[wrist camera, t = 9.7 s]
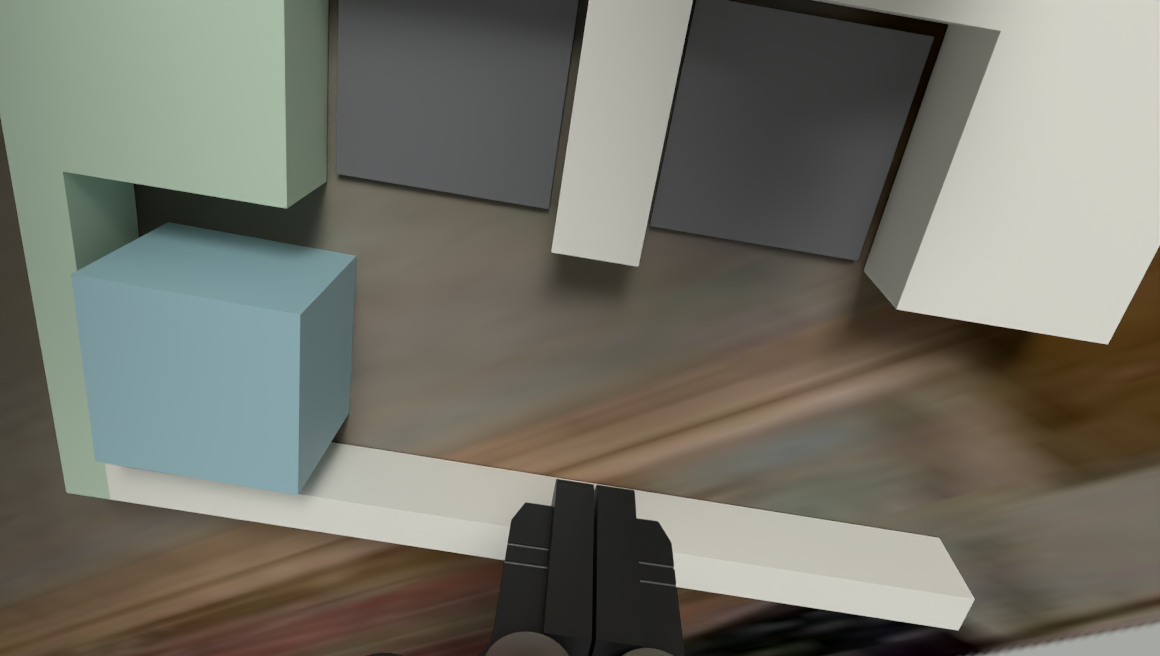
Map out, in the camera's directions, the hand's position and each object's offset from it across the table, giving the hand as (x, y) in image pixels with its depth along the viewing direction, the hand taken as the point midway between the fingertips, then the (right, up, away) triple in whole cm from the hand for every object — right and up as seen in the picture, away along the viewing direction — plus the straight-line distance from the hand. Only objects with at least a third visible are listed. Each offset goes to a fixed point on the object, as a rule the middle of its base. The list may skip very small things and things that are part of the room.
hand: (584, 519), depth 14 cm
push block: (-9, +4, +7) cm, 12 cm away
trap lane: (0, +6, +5) cm, 8 cm away
